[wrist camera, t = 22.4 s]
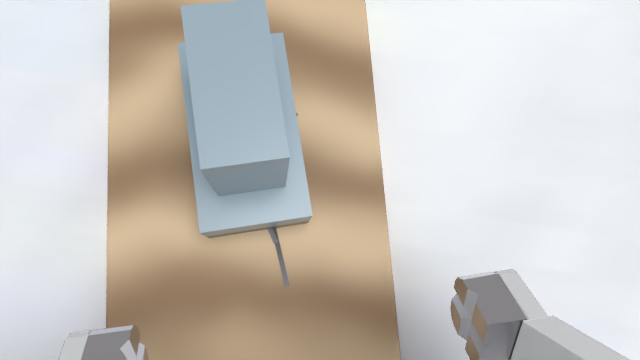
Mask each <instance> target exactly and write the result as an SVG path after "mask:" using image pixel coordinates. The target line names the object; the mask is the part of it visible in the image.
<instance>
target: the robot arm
mask: <svg viewBox="0 0 640 360" xmlns="http://www.w3.org/2000/svg"><path fill="white" fill-rule="evenodd" d="M454 289H455V291H456V292H457V294H456V295H455V296H454V297H453V299H452V301H451V316H452V320H453V324H454V327H455V329H456V331H457V333H458V335H460V336H461V337H462V338H464V339H465V340H467V343H466V347H465V350H466V352H467V354H468V356H469V358H470V360H629V359H628V358H626V357H624V356H622V355H621V354H619V353H617V352H615V351H614V350H612V349H610V348H609V347H607V346H605V345H603V344H602V343H600V342H598V341H596V340H595V339H593V338H591V337H590V336H588V335H586V334H584V333H583V332H581V331H579V330H577V329H576V328H574V327H572V326H571V325H569V324H567V323H565V322H564V321H562V320H560V319H558V318H557V317H555V316H548V315H547V314H546V312H545V311H544V310H543V308H542V307H541V305H540V304H539V303H538V301H537V300H536V298H535V297H534V295H533V294H532V293H531V291H530V290H529V288H528V287H527V286H526V284H525V283H524V281H523V280H522V278H521V277H520V276H519V274H518V273H517V272H516V271H515V270H513V269H509V270H503V271H496V272H487V273H481V274H475V275H469V276H462V277H458V278H457V279H456V280H455V285H454ZM139 340H140V332H139V329H138V327H137V325H131V326H123V327H115V328H107V329H98V330H91V331H84V332H76V333H70V334H69V335H68V337H67V338H66V339H65V342H64V345H63V348H62V351H61V354H60V357H59V360H149V358H148V353H147V350H146V347H145V345H143V344H141V343H139Z"/></svg>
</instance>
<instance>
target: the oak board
mask: <svg viewBox="0 0 640 360" xmlns="http://www.w3.org/2000/svg"><path fill="white" fill-rule="evenodd" d="M226 1H237V0H110V26H109V118H108V211H107V303H106V329H107V328H115V327H123V326H131V325H137V327H138V329H139V332H140V340H139V343H141V344H143V345H145V347H146V350H147V353H148V358H149V360H401V355H400V345H399V335H398V325H397V315H396V305H395V295H394V285H393V275H392V265H391V255H390V245H389V235H388V225H387V215H386V205H385V195H384V185H383V175H382V165H381V155H380V145H379V134H378V124H377V114H376V104H375V94H374V84H373V74H372V64H371V54H370V44H369V34H368V24H367V14H366V4H365V0H265V2H266V8H267V15H268V21H269V28H270V34H273V33H283V35H284V41H285V48H286V54H287V60H288V66H289V72H290V79H291V85H292V91H293V97H294V103H295V110H296V116H297V122H298V128H299V134H300V141H301V147H302V153H303V159H304V165H305V172H306V178H307V184H308V190H309V196H310V203H311V209H312V215H313V216H312V218H311V219H310V221H309V222H308V223H305V224H298V225H292V226H285V227H279V228H272V229H266V230H259V231H253V232H246V233H240V234H233V235H227V236H220V237H214V238H208V237H206V236H204V235H202V234H201V233H200V230H199V221H198V213H197V204H196V196H195V187H194V179H193V171H192V162H191V154H190V145H189V137H188V128H187V120H186V111H185V103H184V94H183V86H182V77H181V69H180V60H179V52H178V44H177V43H185V39H184V31H183V23H182V14H181V6H183V5H194V4H205V3H215V2H226Z"/></svg>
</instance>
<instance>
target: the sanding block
mask: <svg viewBox="0 0 640 360" xmlns="http://www.w3.org/2000/svg"><path fill="white" fill-rule="evenodd" d="M181 14H182V23H183V31H184V39H185V43H177V44H178V52H179V60H180V69H181V77H182V86H183V94H184V103H185V111H186V120H187V128H188V137H189V145H190V154H191V162H192V171H193V179H194V187H195V196H196V204H197V213H198V221H199V230H200V233H201V234H202V235H204V236H206V237H208V238H214V237H220V236H227V235H233V234H240V233H246V232H253V231H259V230H266V229H272V228H279V227H285V226H292V225H298V224H305V223H308V222H309V221H310V219H311V218H312V216H313V215H312V209H311V203H310V196H309V190H308V184H307V178H306V172H305V165H304V159H303V153H302V147H301V141H300V134H299V128H298V122H297V116H296V110H295V103H294V97H293V91H292V85H291V79H290V72H289V66H288V60H287V54H286V48H285V41H284V35H283V33H273V34H270V28H269V21H268V15H267V8H266V2H265V0H237V1H226V2H215V3H205V4H194V5H183V6H181Z"/></svg>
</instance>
